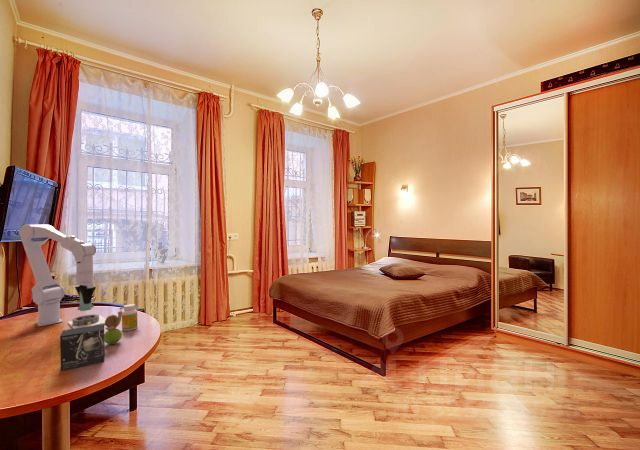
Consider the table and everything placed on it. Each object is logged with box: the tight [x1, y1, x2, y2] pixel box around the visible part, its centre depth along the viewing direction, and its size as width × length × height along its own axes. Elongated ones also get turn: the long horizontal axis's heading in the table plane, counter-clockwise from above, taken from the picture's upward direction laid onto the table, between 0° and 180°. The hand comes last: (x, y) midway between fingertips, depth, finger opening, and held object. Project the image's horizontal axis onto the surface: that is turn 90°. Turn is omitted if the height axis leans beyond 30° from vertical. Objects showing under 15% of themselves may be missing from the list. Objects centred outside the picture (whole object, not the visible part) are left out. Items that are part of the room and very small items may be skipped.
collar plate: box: [67, 313, 107, 329], centre depth 135 cm, size 15×12×3 cm
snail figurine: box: [104, 307, 124, 345], centre depth 111 cm, size 5×6×12 cm
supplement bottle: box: [121, 303, 138, 332], centre depth 126 cm, size 5×5×10 cm
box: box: [59, 324, 106, 372], centre depth 96 cm, size 11×7×10 cm, turn 123°
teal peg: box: [77, 292, 95, 312], centre depth 134 cm, size 4×5×8 cm
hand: (85, 302), depth 134 cm, fingers closed on teal peg, 4 cm apart
